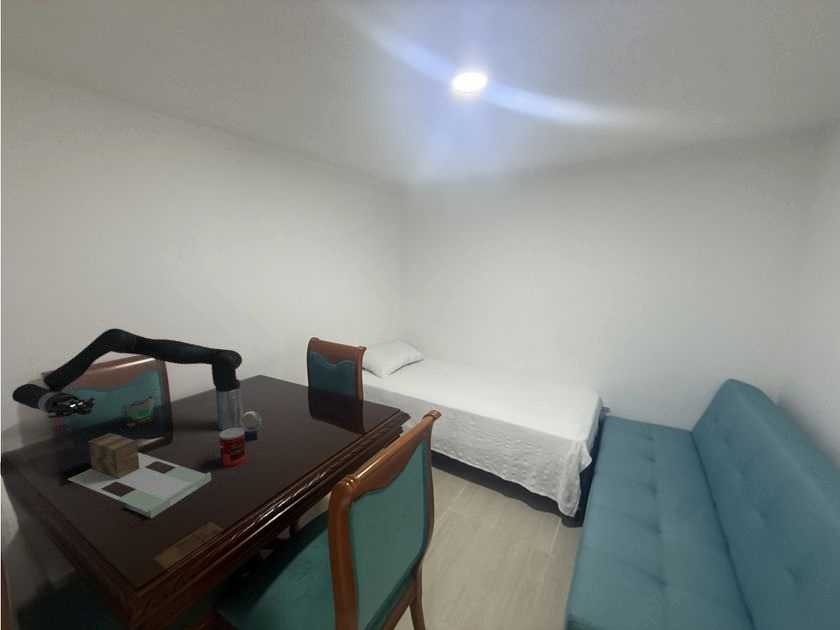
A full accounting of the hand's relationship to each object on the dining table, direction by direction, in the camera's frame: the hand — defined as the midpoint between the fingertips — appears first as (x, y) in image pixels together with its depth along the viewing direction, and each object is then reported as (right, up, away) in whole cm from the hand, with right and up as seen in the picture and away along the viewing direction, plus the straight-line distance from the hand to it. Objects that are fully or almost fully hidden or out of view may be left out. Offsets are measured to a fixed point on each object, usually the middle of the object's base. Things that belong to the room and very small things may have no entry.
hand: (87, 411), depth 113 cm
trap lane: (+23, -21, -5) cm, 31 cm away
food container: (-9, -15, +34) cm, 38 cm away
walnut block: (+11, -19, -1) cm, 22 cm away
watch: (+44, -18, +24) cm, 53 cm away
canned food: (+46, -20, +7) cm, 51 cm away
